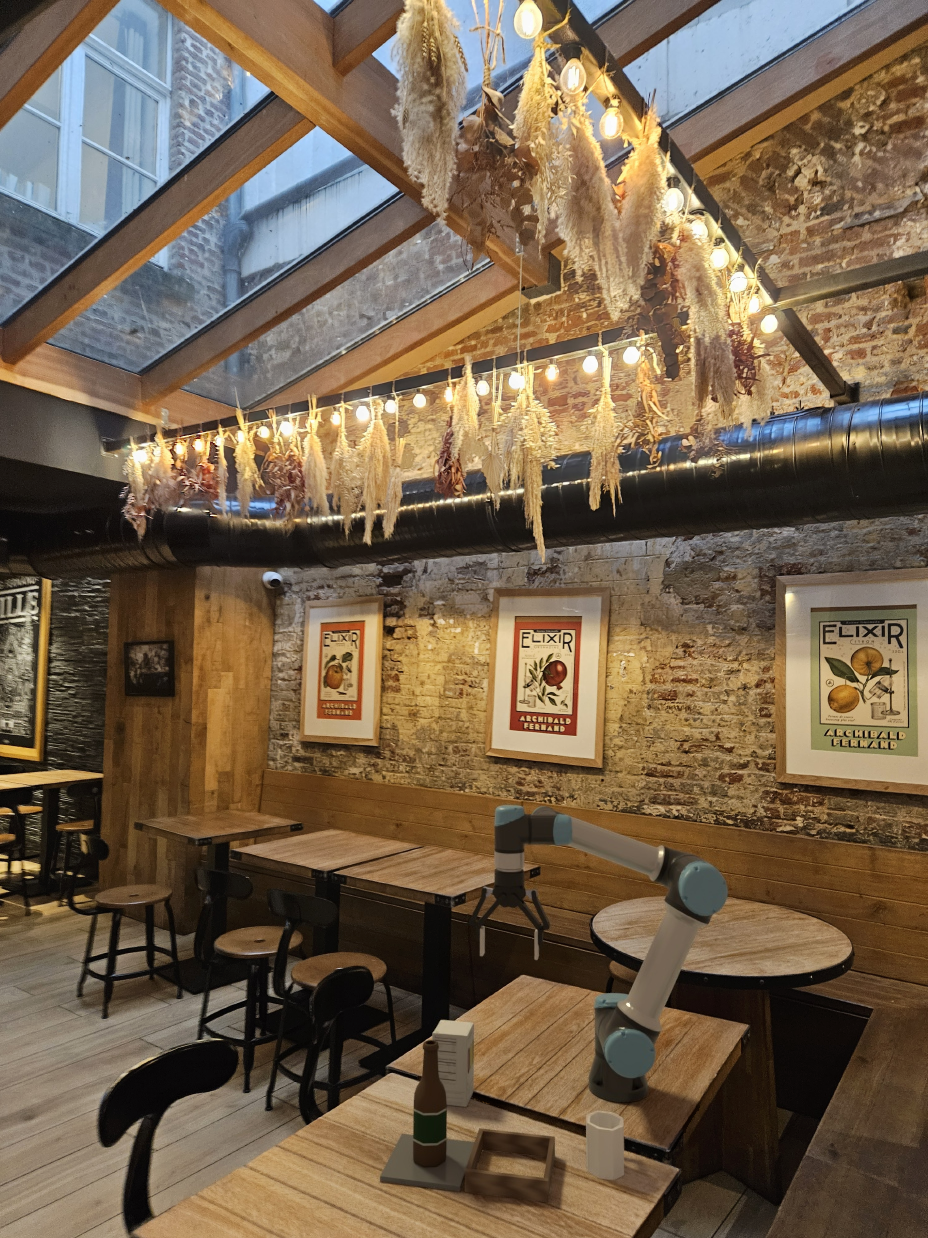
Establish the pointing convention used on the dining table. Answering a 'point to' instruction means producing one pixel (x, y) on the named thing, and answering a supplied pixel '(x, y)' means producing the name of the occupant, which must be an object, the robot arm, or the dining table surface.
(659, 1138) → the dining table surface
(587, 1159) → the mug
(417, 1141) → the beer bottle
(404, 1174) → the slate pad
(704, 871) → the robot arm
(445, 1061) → the supplement box
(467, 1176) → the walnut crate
